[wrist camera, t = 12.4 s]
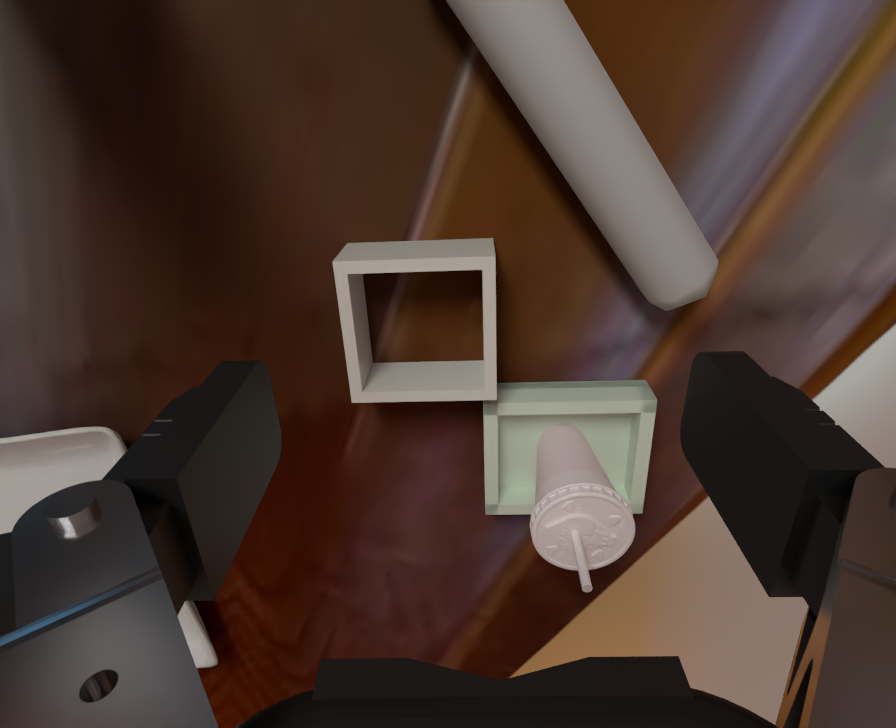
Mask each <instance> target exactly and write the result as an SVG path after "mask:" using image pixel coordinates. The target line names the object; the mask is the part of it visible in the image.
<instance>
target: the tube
mask: <svg viewBox="0 0 896 728" xmlns="http://www.w3.org/2000/svg"><path fill="white" fill-rule="evenodd" d="M446 2H447V3H448V5H449V6H450V8H451V9H452V11H453V12H454V14H455V15H456V16H457V18H458V19H459V21H460V22H461V24H462V25H463V27H464V28H465V30H466V31H467V33H468V34H469V36H470V37H471V39H472V40H473V42H474V43H475V45H476V46H477V48H478V49H479V51H480V52H481V54H482V55H483V57H484V58H485V60H486V61H487V63H488V64H489V66H490V67H491V69H492V70H493V72H494V73H495V75H496V76H497V78H498V79H499V81H500V82H501V84H502V85H503V87H504V88H505V90H506V91H507V93H508V94H509V96H510V97H511V99H512V100H513V102H514V103H515V105H516V106H517V108H518V109H519V111H520V112H521V114H522V115H523V116H524V118H525V119H526V121H527V122H528V124H529V125H530V127H531V128H532V130H533V131H534V133H535V134H536V136H537V137H538V139H539V140H540V142H541V143H542V145H543V146H544V148H545V149H546V151H547V152H548V154H549V155H550V157H551V158H552V160H553V161H554V163H555V164H556V166H557V167H558V169H559V170H560V172H561V173H562V175H563V176H564V178H565V179H566V181H567V182H568V184H569V185H570V187H571V188H572V190H573V191H574V193H575V194H576V196H577V197H578V199H579V200H580V202H581V203H582V205H583V206H584V208H585V209H586V211H587V212H588V214H589V215H590V216H591V218H592V219H593V221H594V222H595V224H596V225H597V227H598V228H599V230H600V231H601V233H602V234H603V236H604V237H605V239H606V240H607V242H608V243H609V245H610V246H611V248H612V249H613V251H614V252H615V254H616V255H617V257H618V258H619V260H620V261H621V263H622V264H623V266H624V267H625V269H626V270H627V272H628V273H629V275H630V276H631V278H632V279H633V281H634V282H635V284H636V285H637V287H638V288H639V290H640V291H641V293H642V294H643V295H644V296H645V297H646V299H647V300H648V301H649V302H650V303H652V304H654V305H656V306H658V307H660V308H661V309H663V310H665V311H669V310H672V309H675V308H677V307H680V306H683V305H686V304H688V303H691V302H694V301H696V300H699V299H701V298H704V297H706V296H707V294H708V291H709V289H710V287H711V285H712V283H713V281H714V278H715V275H716V270H717V266H718V259H717V258H716V256H715V254H714V252H713V251H712V249H711V247H710V246H709V244H708V242H707V241H706V239H705V237H704V236H703V234H702V232H701V231H700V229H699V227H698V226H697V224H696V222H695V221H694V219H693V217H692V216H691V214H690V212H689V210H688V209H687V207H686V205H685V204H684V202H683V200H682V199H681V197H680V195H679V194H678V192H677V190H676V189H675V187H674V185H673V184H672V182H671V180H670V179H669V177H668V175H667V173H666V172H665V170H664V168H663V167H662V165H661V163H660V162H659V160H658V158H657V157H656V155H655V153H654V152H653V150H652V148H651V147H650V145H649V143H648V142H647V140H646V138H645V137H644V135H643V133H642V131H641V130H640V128H639V126H638V125H637V123H636V121H635V120H634V118H633V116H632V115H631V113H630V111H629V110H628V108H627V106H626V105H625V103H624V101H623V100H622V98H621V96H620V95H619V93H618V91H617V89H616V88H615V86H614V84H613V83H612V81H611V79H610V78H609V76H608V74H607V73H606V71H605V69H604V68H603V66H602V64H601V63H600V61H599V59H598V58H597V56H596V54H595V53H594V51H593V49H592V47H591V46H590V44H589V42H588V41H587V39H586V37H585V36H584V34H583V32H582V31H581V29H580V27H579V26H578V24H577V22H576V21H575V19H574V17H573V16H572V14H571V12H570V10H569V9H568V7H567V5H566V4H565V2H564V0H446Z"/></svg>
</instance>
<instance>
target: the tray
mask: <svg viewBox="0 0 896 728" xmlns="http://www.w3.org/2000/svg"><path fill="white" fill-rule="evenodd" d="M656 407H657V399H656V397H655V395H654V393H653V392H652V390H651V388H650V387H649V385H648V383H647V382H646V380H617V381H569V382H521V383H497V400H483V426H484V474H485V514H486V515H515V514H532V512H533V510H534V508H535V495H536V469H537V443H538V439H539V437H540V435H541V434H542V433H543V432H544V431H545V430H546V429H547V428H549V427H551V426H553V425H557V424H569V425H573V426H575V427H577V428H578V429H580V430H581V431H582V433H583V434H584V436H585V438H586V439H587V441H588V443H589V445H590V446H591V448H592V450H593V452H594V454H595V455H596V457H597V459H598V461H599V462H600V464H601V466H602V468H603V470H604V471H605V473H606V475H607V477H608V478H609V480H610V482H611V484H612V485H613V487H614V489H615V491H616V492H618V493H619V494H621V495H622V496H623V498H624V499H625V500H626V501H627V502H628V503H629V506H630V508H631V510H632V513H633V514H642V511H643V504H644V496H645V489H646V481H647V474H648V466H649V459H650V452H651V444H652V437H653V429H654V422H655V414H656Z"/></svg>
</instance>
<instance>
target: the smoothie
mask: <svg viewBox="0 0 896 728" xmlns="http://www.w3.org/2000/svg"><path fill="white" fill-rule="evenodd" d="M530 531H531V535H532V540H533V544H534V546H535V548H536V550H537V552H538V553H539V554H540V555H541V556H542V557H543V558H544V559H545V560H546V561H548V562H550V563H551V564H553V565H555V566H558V567H561V568H564V569H568V570H577V571H578V572H579V577H580V582H581V586H582V590H583V591H584V592H590V591H591V590H592V584H591V580H590V576H589V572H588V570H592V569H597V568H600V567H603V566H606V565H608V564H610V563H612V562H614V561H615V560H617V559H618V558H620V557H621V556H622V555H623V554H624V553H625V552H626V551H627V550H628V548H629V547H630V545H631V544H632V541H633V539H634V535H635V522H634V519H633V513H632V510H631V508H630V506H629V503H628V502H627V501H626V500H625V499H624V498H623V496H622V495H621V494H619V493H618V492H616V491H615V489H614V487H613V485H612V484H611V482H610V480H609V478H608V477H607V475H606V473H605V471H604V470H603V468H602V466H601V464H600V462H599V461H598V459H597V457H596V455H595V454H594V452H593V450H592V448H591V446H590V445H589V443H588V441H587V439H586V438H585V436H584V434H583V433H582V431H581V430H580V429H578V428H577V427H575V426H573V425H569V424H557V425H553V426H551V427H549V428H547V429H546V430H545V431H544V432H543V433H542V434H541V435H540V437H539V439H538V443H537V469H536V495H535V508H534V510H533V512H532V514H531V519H530Z"/></svg>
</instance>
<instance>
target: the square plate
mask: <svg viewBox="0 0 896 728" xmlns="http://www.w3.org/2000/svg"><path fill="white" fill-rule="evenodd" d="M126 451H127V448H126V446H125V444H124V442H123V440H122V438H121V436H120V435H119V434H118V433H117V432H115V431H114V430H111V429H109V428H106V427H83V428H73V429H66V430H58V431H51V432H44V433H38V434H30V435H23V436H16V437H9V438H0V534H4V533H9V532H12V530H13V527H14V525H15V524H16V522H17V521H18V519H19V518H20V517H21V516H22V515H23V514H24V513H25V512H26V511H27V510H28V509H29V508H31V507H32V506H33V505H35V504H36V503H37V502H39V501H40V500H42V499H44V498H45V497H47V496H49V495H51V494H53V493H55V492H57V491H59V490H62V489H64V488H67V487H70V486H73V485H76V484H80V483H84V482H89V481H96V480H102V479H103V477H104V476H105V475H106V474H107V473H108V472H109V471H110V469H111V468H112V467H113V466H114V465H115V464H116V463H117V462H118V460H119V459H120V458H121V457H122V456H123V455H124V454H125V452H126ZM178 619H179V622H180V624H181V627H182V630H183V633H184V635H185V638H186V641H187V644H188V646H189V649H190V652H191V655H192V657H193V660H194V663H195V665H196V668H205V667H213V666H215V665H217V664H218V658H217V655H216V652H215V650H214V647H213V645H212V643H211V641H210V639H209V636H208V633H207V630H206V628H205V625H204V623H203V621H202V619H201V616H200V614H199V612H198V610H197V608H196V606H195V604H194V602H193V601H185V602H184V604H183V606H182V608H181V610H180V612H179V614H178Z"/></svg>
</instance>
